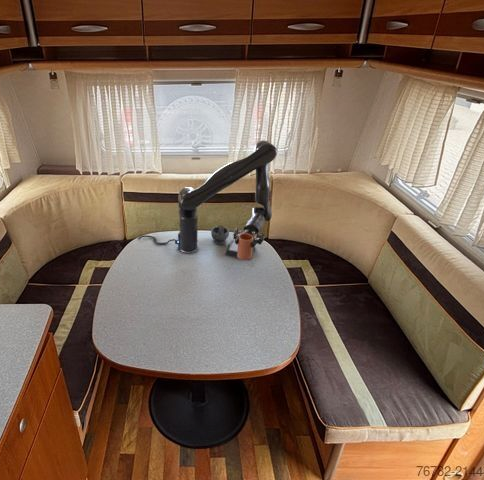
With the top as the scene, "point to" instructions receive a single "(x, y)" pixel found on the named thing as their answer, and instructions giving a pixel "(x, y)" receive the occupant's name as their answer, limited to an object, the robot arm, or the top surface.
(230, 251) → the scale
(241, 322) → the top surface
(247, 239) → the cup
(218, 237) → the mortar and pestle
